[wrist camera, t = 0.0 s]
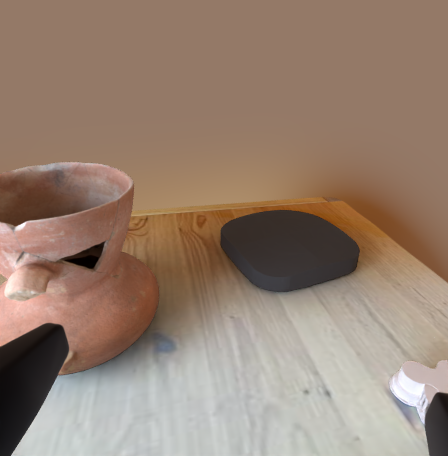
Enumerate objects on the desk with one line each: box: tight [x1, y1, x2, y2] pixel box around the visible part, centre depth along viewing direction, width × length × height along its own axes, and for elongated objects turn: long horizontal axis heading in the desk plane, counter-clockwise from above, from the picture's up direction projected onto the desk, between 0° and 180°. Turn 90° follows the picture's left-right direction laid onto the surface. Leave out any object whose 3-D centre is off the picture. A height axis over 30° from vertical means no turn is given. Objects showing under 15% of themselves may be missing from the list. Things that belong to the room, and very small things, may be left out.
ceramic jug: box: [0, 162, 159, 375], centre depth 29 cm, size 18×14×14 cm
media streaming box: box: [221, 210, 360, 292], centre depth 43 cm, size 15×15×3 cm
